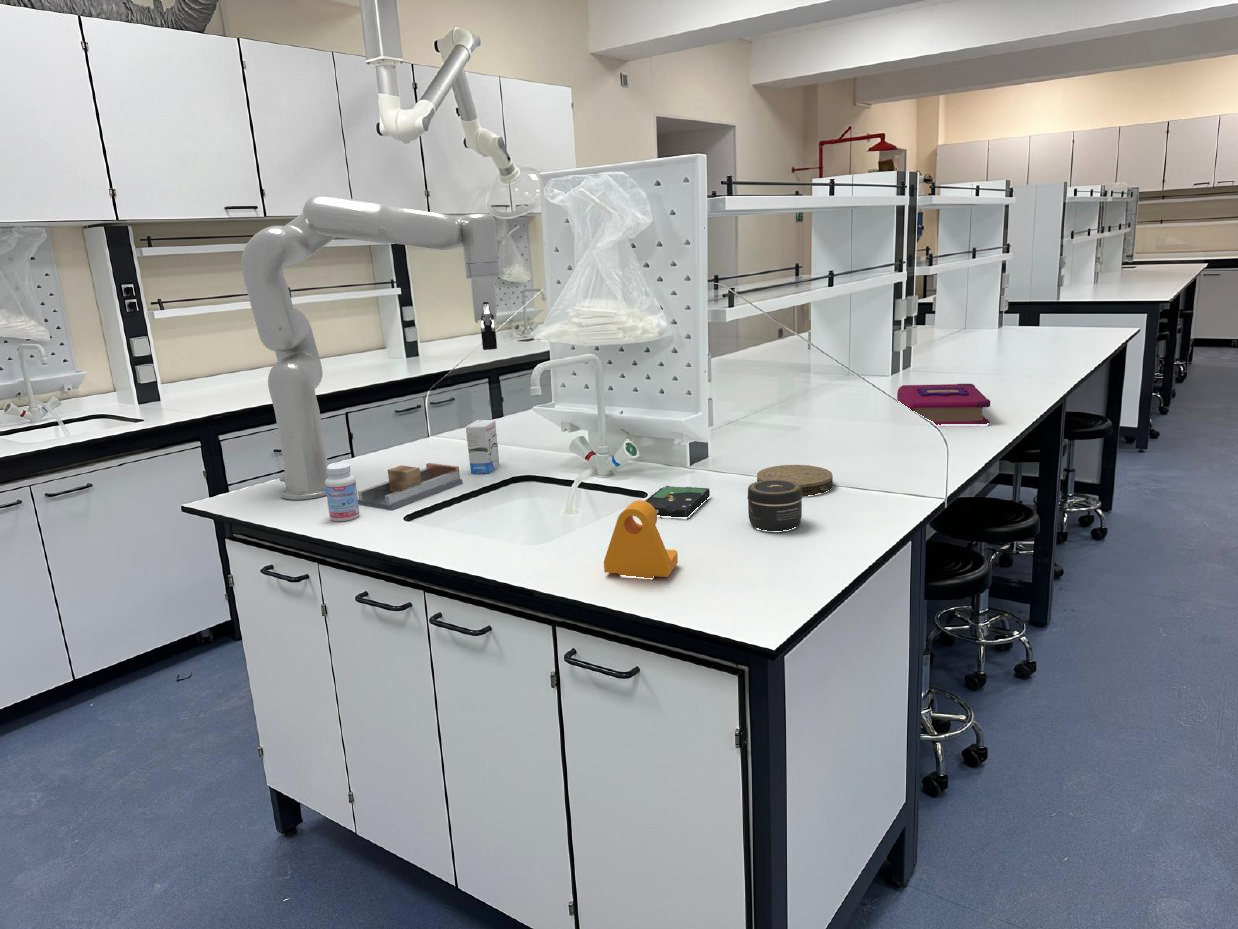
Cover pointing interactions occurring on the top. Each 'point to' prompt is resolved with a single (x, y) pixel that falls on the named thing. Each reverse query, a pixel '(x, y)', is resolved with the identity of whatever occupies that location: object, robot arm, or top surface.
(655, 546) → the bracket
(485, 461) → the ink box
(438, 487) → the chute
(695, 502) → the disk drive
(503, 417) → the top surface
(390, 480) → the block
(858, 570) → the top surface
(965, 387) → the book
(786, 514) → the jar
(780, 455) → the top surface
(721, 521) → the top surface
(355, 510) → the pill bottle
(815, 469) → the cork trivet
